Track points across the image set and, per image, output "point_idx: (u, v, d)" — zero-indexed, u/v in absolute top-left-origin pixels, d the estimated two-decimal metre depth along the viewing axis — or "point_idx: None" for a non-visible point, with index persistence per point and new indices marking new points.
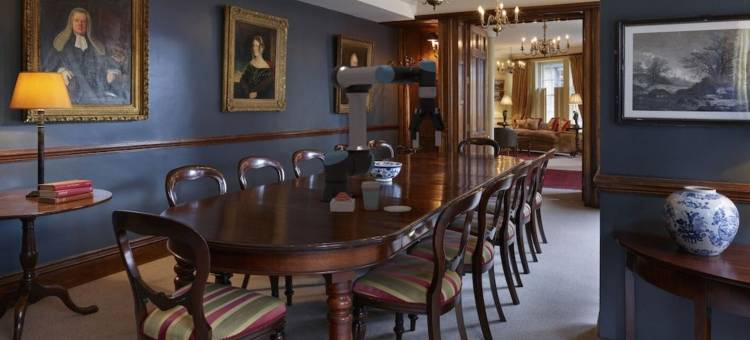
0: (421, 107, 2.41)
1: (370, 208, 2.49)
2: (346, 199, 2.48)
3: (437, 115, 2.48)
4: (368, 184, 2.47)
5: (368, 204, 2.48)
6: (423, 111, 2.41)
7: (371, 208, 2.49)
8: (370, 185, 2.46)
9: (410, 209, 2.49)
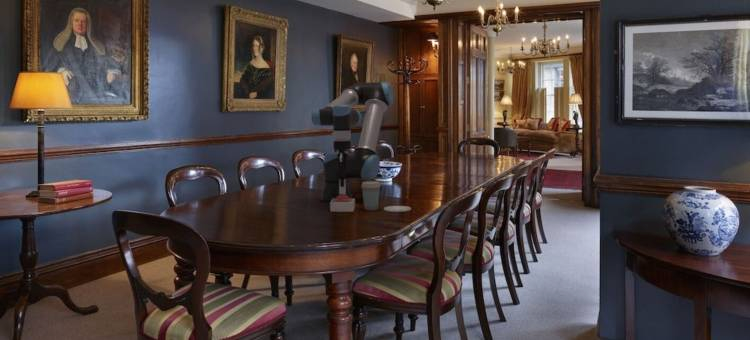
0: None
1: (370, 208, 2.49)
2: (346, 200, 2.48)
3: None
4: (368, 184, 2.47)
5: (368, 204, 2.48)
6: None
7: (371, 208, 2.49)
8: (370, 185, 2.46)
9: (410, 209, 2.49)
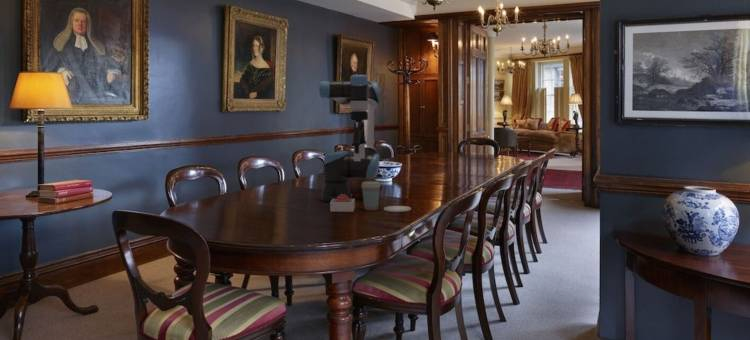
0: None
1: (370, 208, 2.49)
2: (346, 201, 2.48)
3: None
4: (368, 184, 2.47)
5: (368, 204, 2.48)
6: None
7: (371, 208, 2.49)
8: (370, 185, 2.46)
9: (410, 209, 2.49)
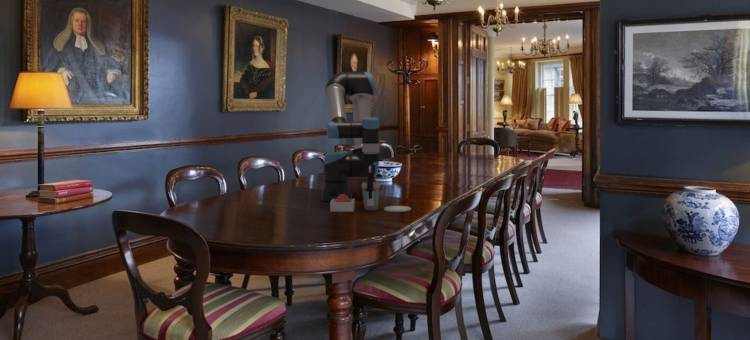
0: None
1: (370, 208, 2.49)
2: (346, 201, 2.48)
3: None
4: None
5: None
6: None
7: (371, 208, 2.49)
8: None
9: (410, 209, 2.49)
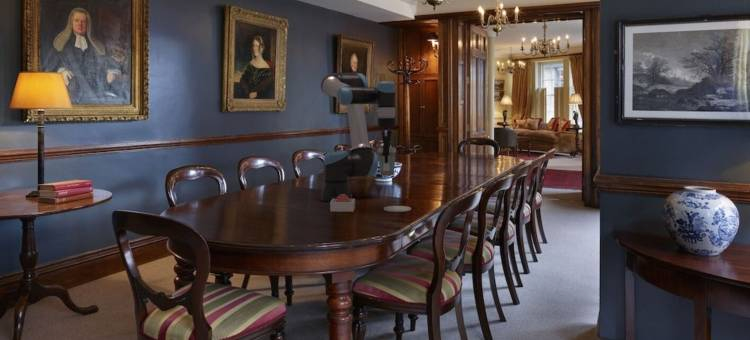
0: None
1: (386, 173, 2.46)
2: (346, 201, 2.48)
3: None
4: None
5: None
6: None
7: (387, 173, 2.46)
8: None
9: (410, 209, 2.49)
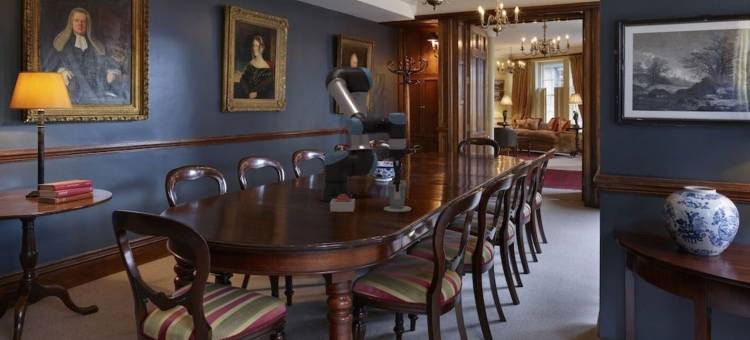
0: None
1: (396, 207, 2.48)
2: (346, 201, 2.48)
3: None
4: None
5: (394, 203, 2.48)
6: None
7: (398, 206, 2.48)
8: None
9: (410, 209, 2.49)
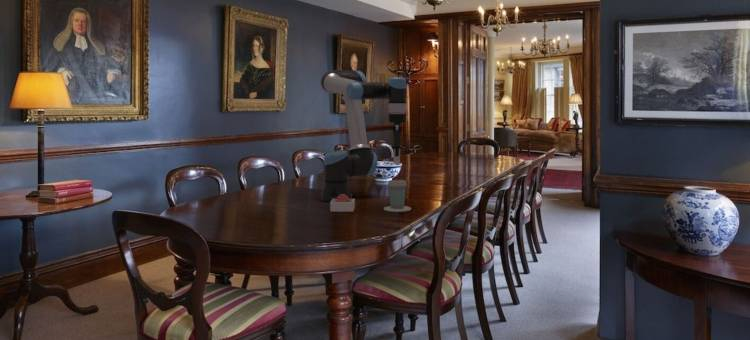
0: None
1: (396, 207, 2.48)
2: (346, 201, 2.48)
3: None
4: (395, 182, 2.46)
5: (394, 203, 2.48)
6: None
7: (398, 206, 2.48)
8: (397, 183, 2.46)
9: (410, 209, 2.49)
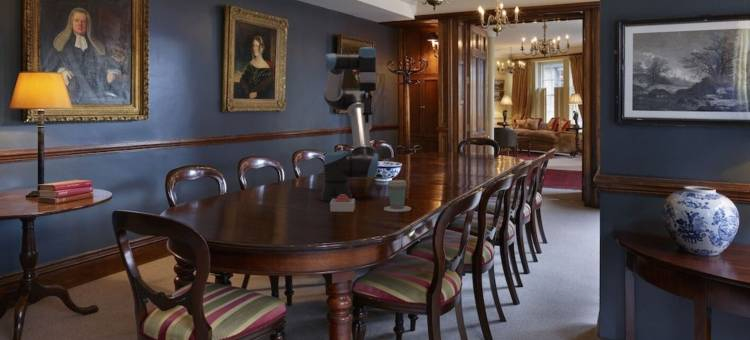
0: None
1: (396, 207, 2.48)
2: (346, 201, 2.48)
3: None
4: (395, 182, 2.46)
5: (394, 203, 2.48)
6: None
7: (398, 206, 2.48)
8: (397, 183, 2.46)
9: (410, 209, 2.49)
